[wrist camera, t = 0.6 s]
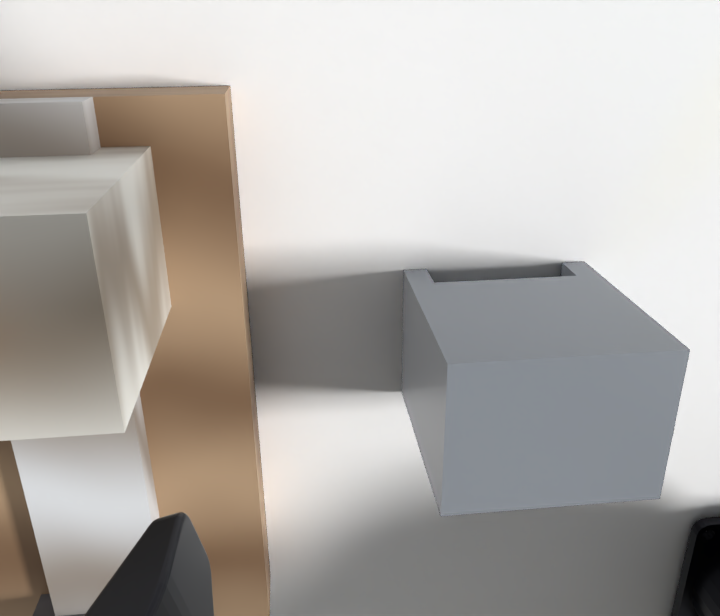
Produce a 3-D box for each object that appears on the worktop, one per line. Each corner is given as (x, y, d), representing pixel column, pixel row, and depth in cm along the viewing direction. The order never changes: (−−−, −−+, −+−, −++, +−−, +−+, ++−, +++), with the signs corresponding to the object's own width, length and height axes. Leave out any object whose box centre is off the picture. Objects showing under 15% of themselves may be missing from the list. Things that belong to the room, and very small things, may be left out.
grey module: (569, 381, 24) (659, 498, 19) (401, 392, 24) (440, 516, 18) (584, 261, 23) (689, 349, 17) (403, 269, 22) (447, 364, 16)
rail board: (270, 575, 26) (264, 856, 18) (-2, 599, 26) (-149, 907, 17) (230, 85, 19) (187, 150, 11) (-150, 94, 18) (-543, 171, 10)
